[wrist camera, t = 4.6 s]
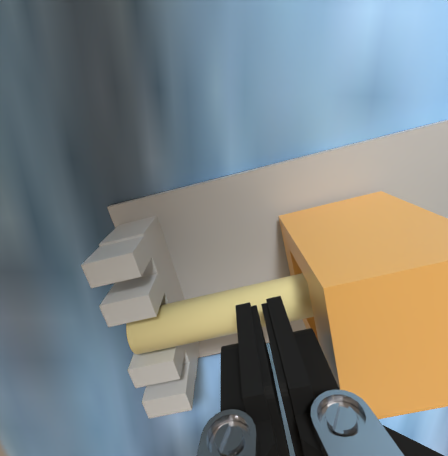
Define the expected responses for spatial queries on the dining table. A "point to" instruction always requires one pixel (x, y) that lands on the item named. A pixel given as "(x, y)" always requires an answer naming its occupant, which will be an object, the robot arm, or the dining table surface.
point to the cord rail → (237, 250)
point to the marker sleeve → (377, 297)
